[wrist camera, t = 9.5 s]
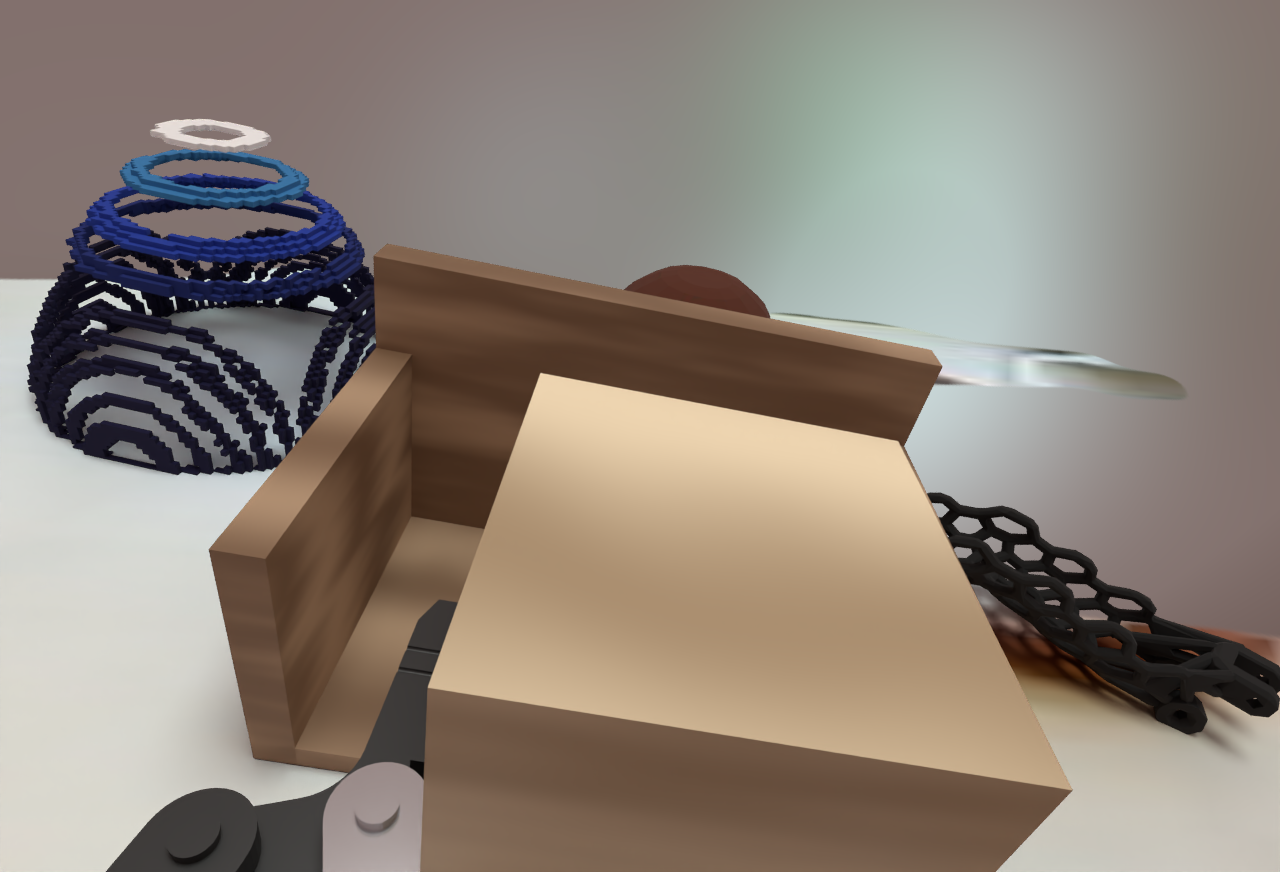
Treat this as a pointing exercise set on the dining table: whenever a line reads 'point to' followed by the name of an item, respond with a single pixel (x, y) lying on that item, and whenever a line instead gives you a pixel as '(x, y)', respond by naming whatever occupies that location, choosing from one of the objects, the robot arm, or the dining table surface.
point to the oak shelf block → (720, 660)
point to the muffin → (701, 289)
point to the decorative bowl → (219, 288)
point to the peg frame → (477, 464)
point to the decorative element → (1112, 626)
